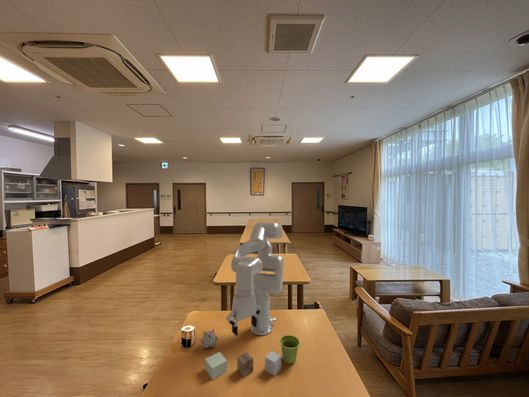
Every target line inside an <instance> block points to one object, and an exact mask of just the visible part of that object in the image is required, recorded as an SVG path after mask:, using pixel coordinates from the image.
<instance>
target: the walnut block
mask: <svg viewBox="0 0 529 397" xmlns="http://www.w3.org/2000/svg"><path fill="white" fill-rule="evenodd" d="M236 357H237V359H236V362H237V366H236V367H237V368H236V369H237V372H239V374H240V376H242V377H243V378H244V377H245V378H246V377H247V376H248V375H250V374H251V373H253V372H254V357H253V356H252V355H251V354H250V353H248V351H246V352H244V353H242V354H240V355H238V356H236Z"/></svg>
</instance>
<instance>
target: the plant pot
mask: <svg viewBox="0 0 529 397" xmlns="http://www.w3.org/2000/svg"><path fill="white" fill-rule="evenodd" d="M300 344H301V341H300V339H299V337H297V336H295V335H292V334H285V335H282V336H281V337H280V338H279V345H280V347H281V354H282V355H281V356H282V360H283V362H284V363H285V364H288V365H292V364H294V363H296V361H297V354H298V349H299V346H300Z"/></svg>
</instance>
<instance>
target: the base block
mask: <svg viewBox="0 0 529 397" xmlns="http://www.w3.org/2000/svg"><path fill="white" fill-rule="evenodd" d="M204 360H205V362H204V367H205V368H204V369H205V371H206V372H207V375H208V376H209V377H210V379H211V380H214V379H216V378H218V377H219V376H222V375H223V374H225V373H227V372H228V360H227V359H226V358H225V357H224V355H223V354H222V353H221V351H219V352H216V353H214V354H212V355H210V356H208V357H206V358H204Z"/></svg>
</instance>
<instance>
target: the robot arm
mask: <svg viewBox="0 0 529 397" xmlns="http://www.w3.org/2000/svg"><path fill="white" fill-rule="evenodd" d="M252 228H253V229H252V231H251V234H250V236H249V239H248V240H247V241H245V242H243V243H242V244H241V245H239V246H237V248H236V250H235V252H234V254H233V256H232V259H231V262H230V268H231V271H232V272H233V273H235V294H234V295H233V297H232V298H233V299H232V308H231V312H230V313H229V314H228V315H227V316H226V317H225V318H226V320H227V322H228V323H229V324H230V325H231V332H232V334H234V335H235V337H237V336H238V335H239V327H238V324H239V322H240V321H243V320H246V319H249V318H251V319H250V321H251V323H250V327H249V328H250V331H251V333H253V334H254V335H257V336H265V335H266V336H267V335H269V334H270V333H271V332H272V331H273V322H274V323H275V322H277V317H273V318H272V316H270V315H271V314H270V313H271V308H270V306H271V302H270V301H271V298H270V295H269V293H277V294H278V293H280V292H282V289H283V282H284V281H283V279H284V269H285V268H284V266H285V264H284V259H283V257H282V256H281V255H279V254H272V253H273V245H272V244H271V242H270V241H269V240H270V239H273V240H280V239H281V238H283V234H284V230H283V227H282V225H281V224H279V223H277V222H265V221H264V222H262V221H260V222H259V221H258V222H256V223H255V224H254V226H253V227H252ZM268 239H269V240H268ZM254 253H257V255H256V257H255V256H248V255H251V254H254ZM263 272H269V273H263ZM270 272H271V273H270ZM272 273H274V274H272Z"/></svg>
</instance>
